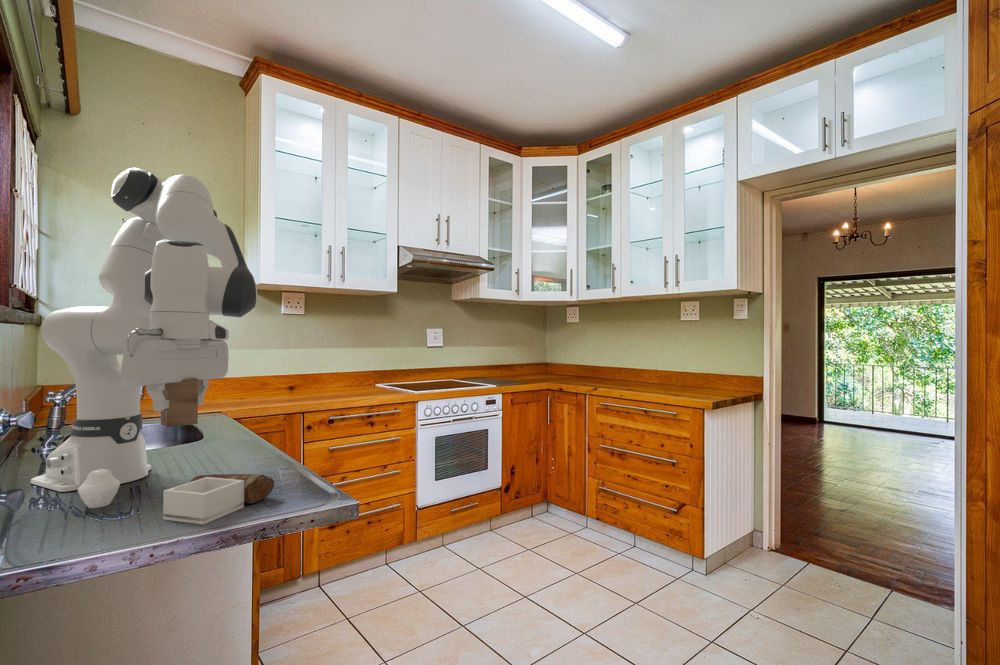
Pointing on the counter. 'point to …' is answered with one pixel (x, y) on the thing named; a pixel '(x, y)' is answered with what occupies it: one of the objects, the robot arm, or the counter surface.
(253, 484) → the bread
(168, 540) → the counter surface
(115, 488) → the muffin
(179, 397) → the walnut block
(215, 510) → the bin
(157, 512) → the counter surface
